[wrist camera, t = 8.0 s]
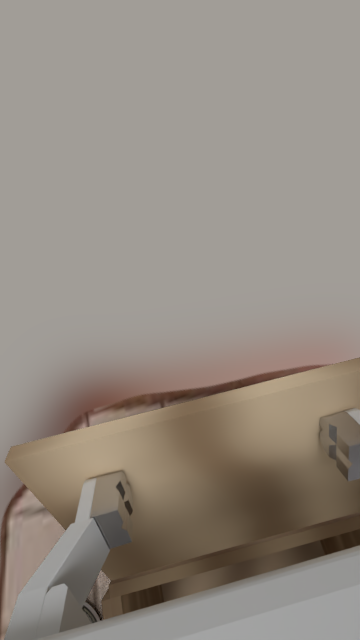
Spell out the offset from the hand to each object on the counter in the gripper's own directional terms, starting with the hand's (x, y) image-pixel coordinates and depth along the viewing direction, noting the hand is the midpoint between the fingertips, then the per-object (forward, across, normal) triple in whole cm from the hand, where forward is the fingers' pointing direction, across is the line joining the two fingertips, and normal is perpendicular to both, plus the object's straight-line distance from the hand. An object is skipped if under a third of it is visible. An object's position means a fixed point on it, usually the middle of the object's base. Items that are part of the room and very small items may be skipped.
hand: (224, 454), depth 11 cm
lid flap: (+1, 0, +3) cm, 3 cm away
